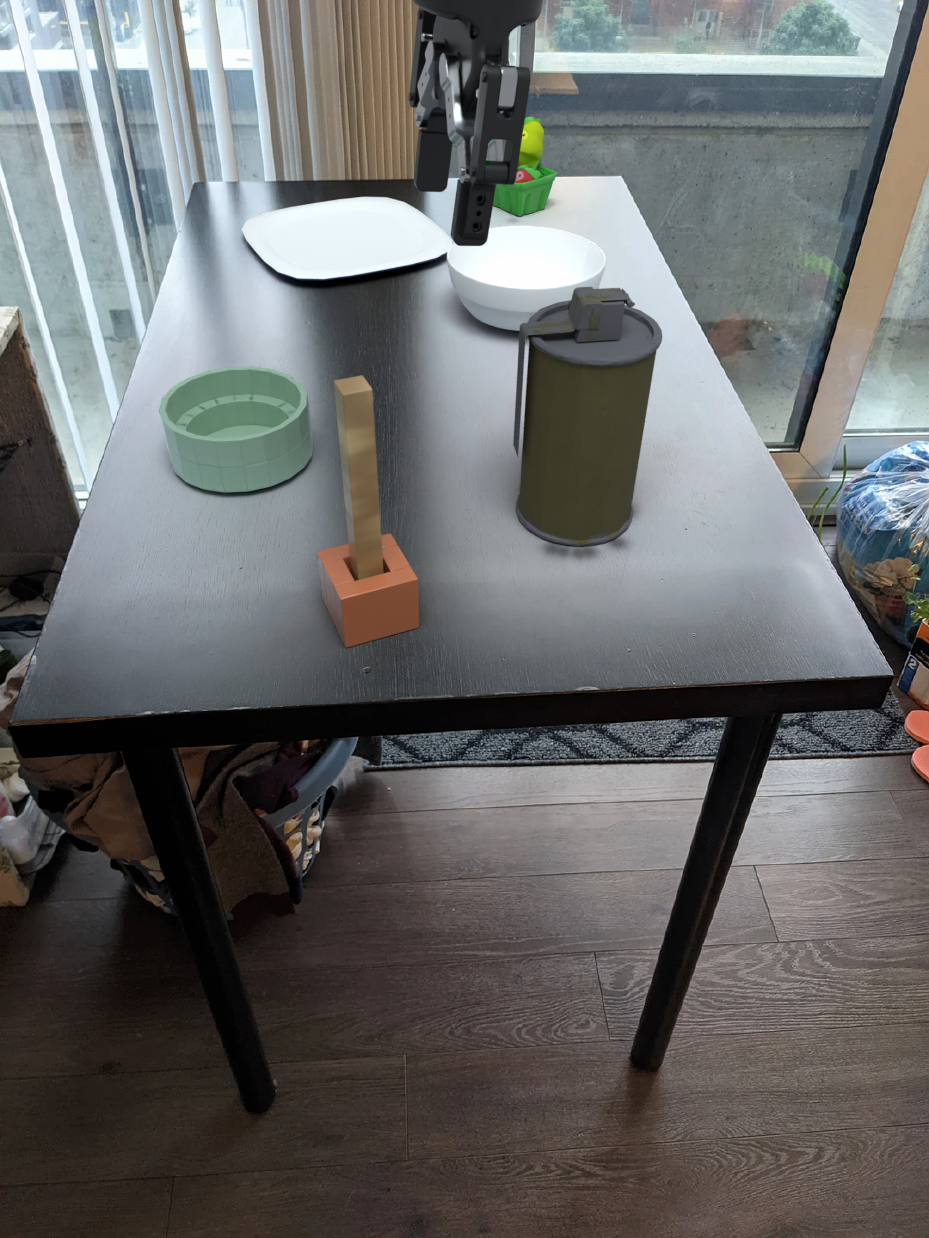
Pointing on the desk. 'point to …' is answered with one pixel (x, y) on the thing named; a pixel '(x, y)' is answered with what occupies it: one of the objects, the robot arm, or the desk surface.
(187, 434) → the mixing bowl
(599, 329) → the canister
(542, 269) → the bowl
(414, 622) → the orange square socket block
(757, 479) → the desk surface
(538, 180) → the fruit basket
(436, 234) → the plate
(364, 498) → the stirring stick
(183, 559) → the desk surface
